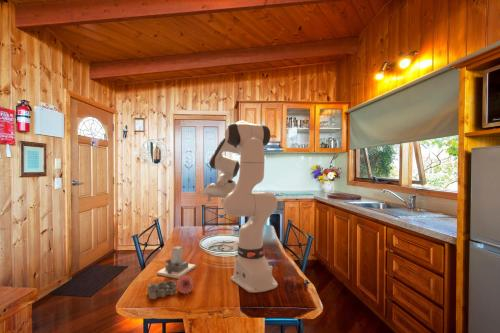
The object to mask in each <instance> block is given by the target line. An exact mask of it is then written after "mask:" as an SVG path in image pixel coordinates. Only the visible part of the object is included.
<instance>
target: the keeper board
mask: <svg viewBox="0 0 500 333" xmlns="http://www.w3.org/2000/svg"><path fill="white" fill-rule="evenodd" d="M165 263H166V264H165V267H164V268H162V269H160V270H158V271H156V275H157V276H164V277H167V278H173V279H178V278H181V276H183V274H184V275H185V276H186V274H189V272H190V271H193V270H194V269H195V268H196V267H197V266H196V265H197V264H194V263H189V261H188V260H187V261H183V264H181V265H180V266H174V265H172V258H167V259H166V260H165ZM180 275H181V276H180Z"/></svg>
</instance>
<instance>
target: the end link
mask: <svg viewBox="0 0 500 333" xmlns="http://www.w3.org/2000/svg"><path fill="white" fill-rule="evenodd" d="M183 252H184V251H183V246H174V247H172V248H171V262H172V265H174V266H180V265H181V264H183V262H184V261H183V260H184V259H183V256H184V255H183Z"/></svg>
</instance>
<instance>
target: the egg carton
mask: <svg viewBox="0 0 500 333" xmlns="http://www.w3.org/2000/svg"><path fill="white" fill-rule="evenodd" d="M176 284H177V283H176V282H175V280H174V278H173V279H171V280H167V281H166V280H165V281H161V282H157V283H154V282H153V283H150V284H149V285H148V286H147V287H146V288H147V296H149V298H148V299H150V300H156V299H157V298H159V297H161V298H164V297H166V296H167V295H170V296H173V295H175V294H176V293H177V289H178V288H177V285H176Z"/></svg>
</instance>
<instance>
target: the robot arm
mask: <svg viewBox="0 0 500 333" xmlns="http://www.w3.org/2000/svg"><path fill="white" fill-rule="evenodd" d="M270 141H271V130H270V129H269V127H268V126H267V125H264V124H256V123H249V122H248V121H245V120H239V121H238V120H237V122H230V123H228V124H227V125H226V128H225V131H224V138H222V140H221V141H220V143H219V144H218V146H217V148H216V149H215V151H214V152H213V154H212V155H211V156H210V158H209V163H208V164H209V166H210V168H211V169H214V170H217V171H220V174H219V176H218V177H217V180H216V182H215V183H209V184H207V185H206V187H205V188H204V190H203V195H204V196H205V197H207V200H206V202H207V203H211V201H212V199H211V198H221V202H220V203H222V208H223V211H224V212H225V214H226V215H227V216H229V217H235V218H240V217H241V218H242V217H249V219H248V220H247V222H245V223H244V224H242V225H241V226H240V228H239V229H238V245H237V256H236V258H235V260H234V267H233V268H234V269H233V275H231V277H230V280H231V281H232V282H234V283H235V284H237V285H238V286H239V287H241V288H242V289H244V291H246V292H248V293H263V292H267V291H271V290H274V289H276V288H278V286H279V284H278V282H277V280H276V279H275V278H274V276H273V269H274V268H273V267H274V266H273V265H269V260H268V259H267V258H266V256H265V255H266V254H265V248H264V244H263V240H264V229H265V226H266V223H267V221H268V219H269V218H270V216H271V215H273V213H275V211H276V210H277V208H278V199H277V196H276V195H275V194H274V193H273V192H268V191H253V190H254V188H255V187H256V186H257V185H259V184H260V183H262V182H263V180H264V179H265V178H264V177H265V160H266V159H265V147H266V146H267V145H268V144H269V143H270ZM224 152H225V153H226V152H227V153H232V154H233V153H234V154H240V156H239V160H236V159H234V158H232V157H228V156H227V155H224V154H223V153H224ZM238 173H239V175H238ZM237 176H238V180H237V182H235V180H234V178H235V177H237Z"/></svg>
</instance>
